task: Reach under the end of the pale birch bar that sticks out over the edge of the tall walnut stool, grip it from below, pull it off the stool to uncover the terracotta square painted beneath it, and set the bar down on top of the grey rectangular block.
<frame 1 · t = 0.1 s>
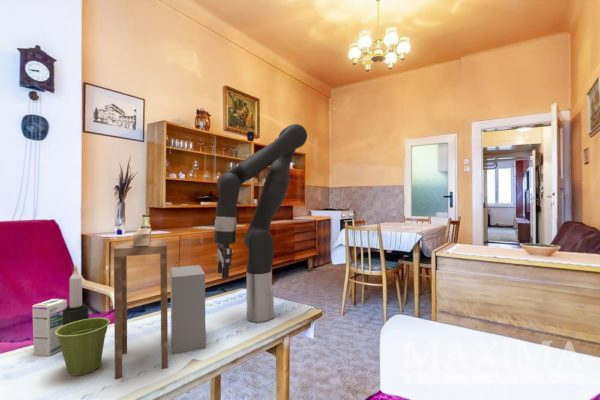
hand: (222, 275, 110), 17 cm above the table, tool pointing down, fingers open, 8 cm apart
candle: (76, 352, 90), on the table
birch bar: (143, 241, 90), point 32 cm above the table, touching walnut stool
plant pot: (83, 369, 81), on the table
grey rectangular block: (187, 341, 97), on the table
walnut stool: (143, 359, 86), on the table
syrup box: (50, 351, 91), on the table
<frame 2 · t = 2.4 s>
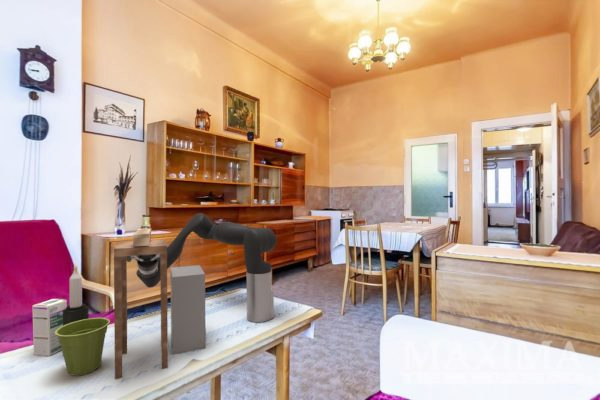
hand: (146, 247, 113), 27 cm above the table, tool pointing upward, fingers open, 8 cm apart
nothing on the table moved.
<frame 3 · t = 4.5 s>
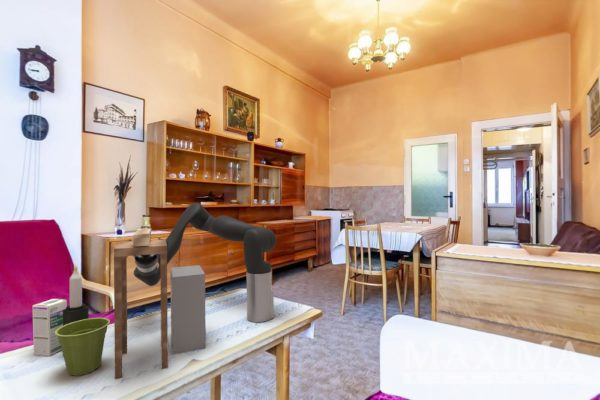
hand: (144, 241, 100), 31 cm above the table, tool pointing upward, fingers open, 8 cm apart
nothing on the table moved.
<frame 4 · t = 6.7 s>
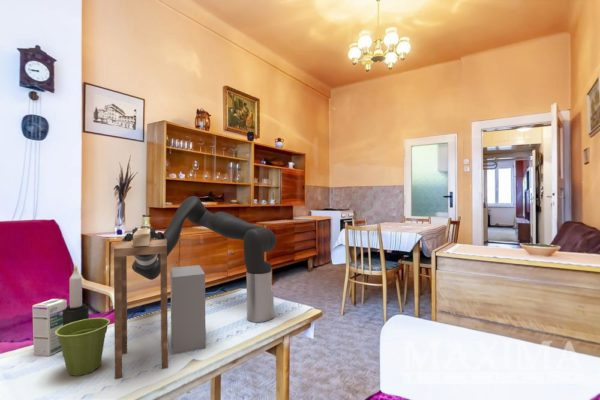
hand: (143, 230, 94), 35 cm above the table, tool pointing upward, fingers closed on birch bar, 3 cm apart
birch bar: (143, 241, 90), point 32 cm above the table, touching gripper, walnut stool
everything else where it was.
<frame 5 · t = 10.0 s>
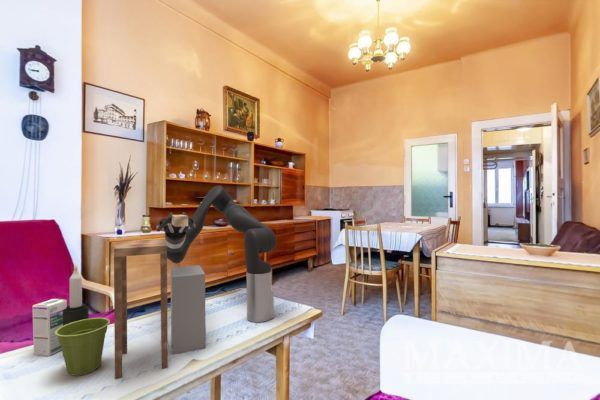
hand: (177, 215, 107), 39 cm above the table, tool pointing upward, fingers closed on birch bar, 3 cm apart
birch bar: (178, 224, 103), point 36 cm above the table, touching gripper
everything else where it was.
when the fingers open (27 cm above the table, at t = 13.7 s): birch bar drops 2 cm, resting on grey rectangular block.
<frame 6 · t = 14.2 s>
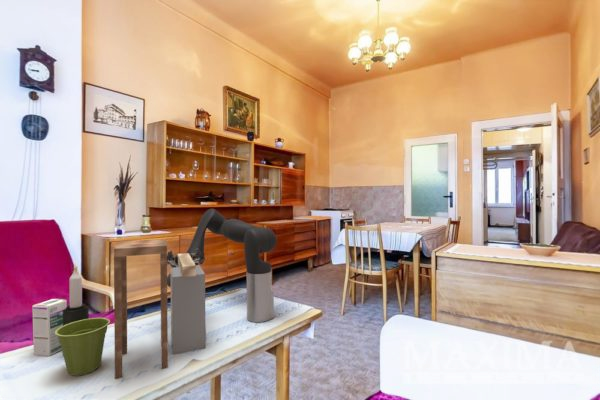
hand: (184, 252, 105), 26 cm above the table, tool pointing upward, fingers open, 8 cm apart
birch bar: (185, 268, 100), point 22 cm above the table, touching grey rectangular block
everything else where it was.
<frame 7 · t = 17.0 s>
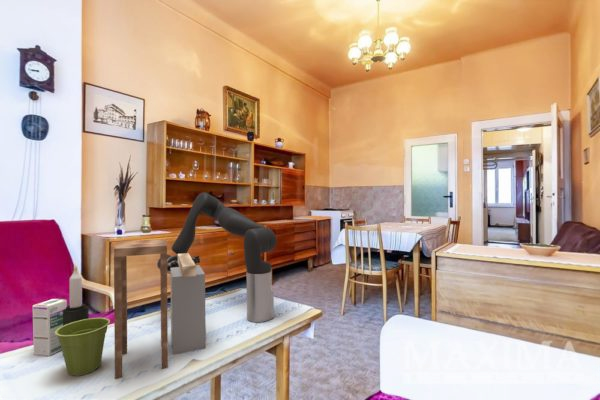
hand: (183, 264, 112), 21 cm above the table, tool horizontal, fingers open, 8 cm apart
nothing on the table moved.
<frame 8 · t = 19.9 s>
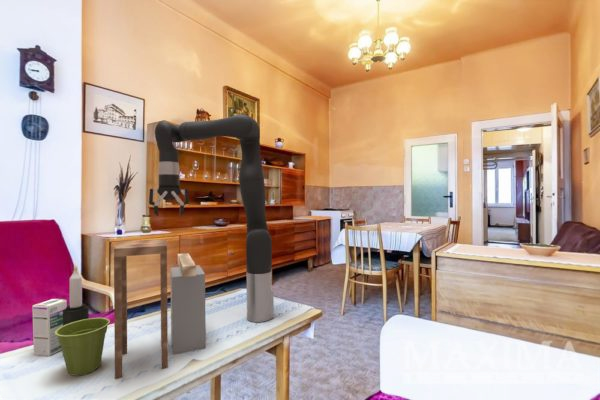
hand: (169, 215, 121), 38 cm above the table, tool pointing down, fingers open, 8 cm apart
nothing on the table moved.
at the end: birch bar inside the target area on the grey rectangular block (1.6 cm from its centre), point 22.0 cm above the grey rectangular block's base; the gripper is holding nothing; birch bar tilted 0° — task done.
